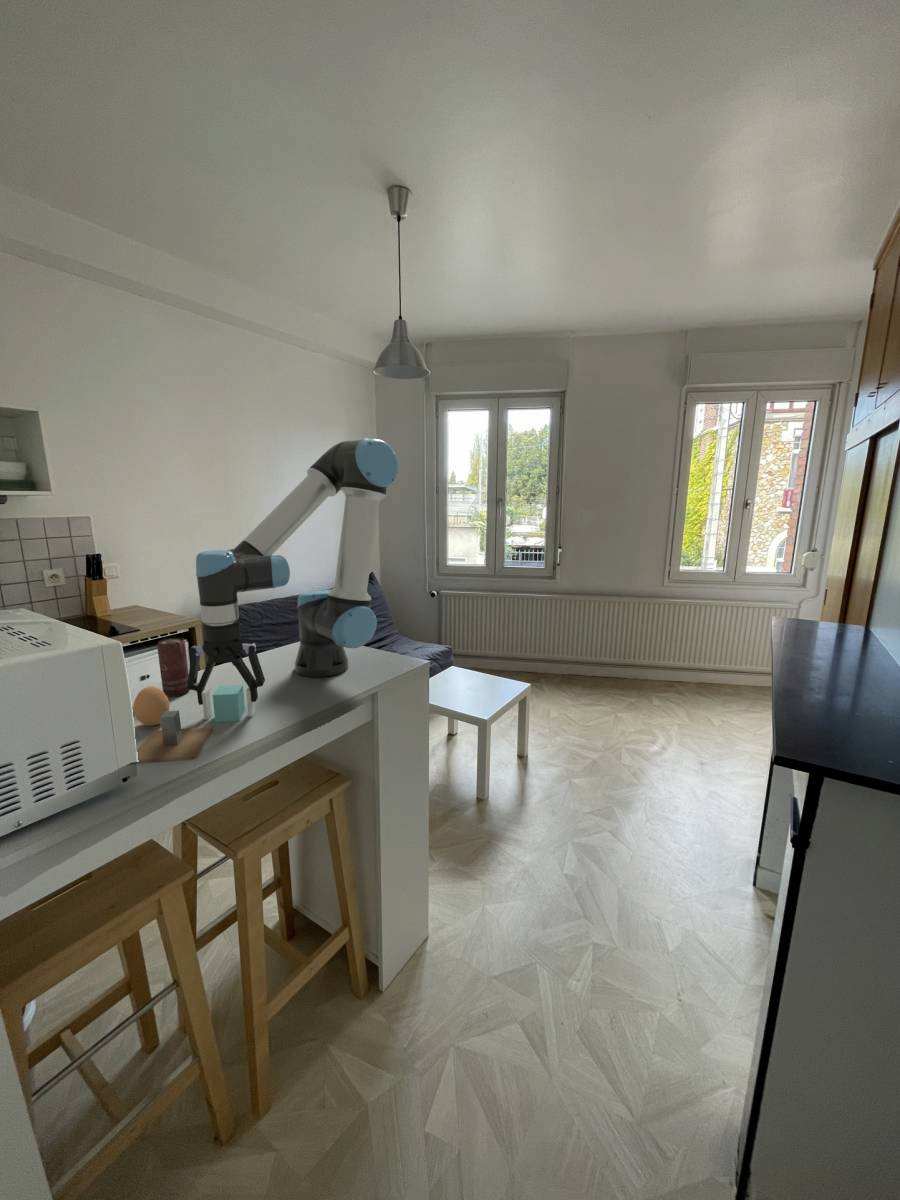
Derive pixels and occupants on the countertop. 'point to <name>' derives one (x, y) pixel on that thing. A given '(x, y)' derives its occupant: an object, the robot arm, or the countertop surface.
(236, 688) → the turquoise block
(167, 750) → the base board
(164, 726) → the post
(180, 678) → the can
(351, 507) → the robot arm
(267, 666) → the countertop surface
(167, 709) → the egg
